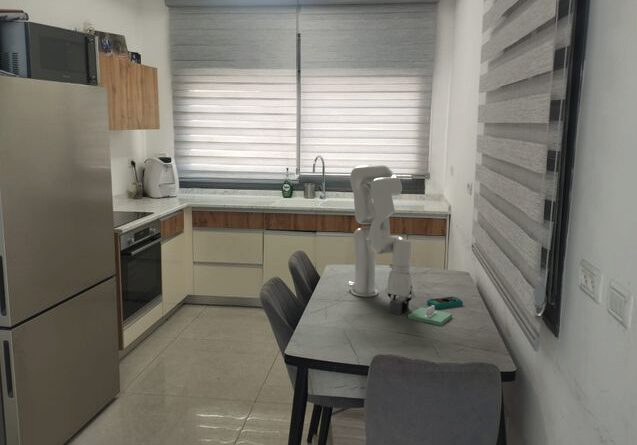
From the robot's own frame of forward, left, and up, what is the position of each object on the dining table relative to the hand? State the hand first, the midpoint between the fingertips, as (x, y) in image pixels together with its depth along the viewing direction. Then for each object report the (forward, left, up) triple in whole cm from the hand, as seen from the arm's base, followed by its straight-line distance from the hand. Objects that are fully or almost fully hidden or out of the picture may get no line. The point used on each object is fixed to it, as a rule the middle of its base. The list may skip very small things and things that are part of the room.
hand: (399, 309), depth 232 cm
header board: (+14, 0, -1) cm, 14 cm away
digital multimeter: (+12, +20, -1) cm, 23 cm away
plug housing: (0, 0, 0) cm, 0 cm away
